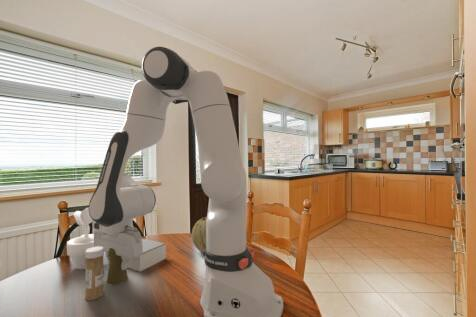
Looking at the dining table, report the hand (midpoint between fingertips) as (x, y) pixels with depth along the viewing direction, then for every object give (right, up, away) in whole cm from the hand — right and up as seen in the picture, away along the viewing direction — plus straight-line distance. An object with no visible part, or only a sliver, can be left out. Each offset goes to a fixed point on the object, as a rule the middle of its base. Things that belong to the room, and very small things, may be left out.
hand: (117, 266), depth 73 cm
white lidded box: (+2, -4, +14) cm, 15 cm away
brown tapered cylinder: (0, -4, 0) cm, 4 cm away
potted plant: (-17, -5, +10) cm, 20 cm away
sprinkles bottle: (-2, -4, -9) cm, 10 cm away
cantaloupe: (+27, -5, +23) cm, 36 cm away
